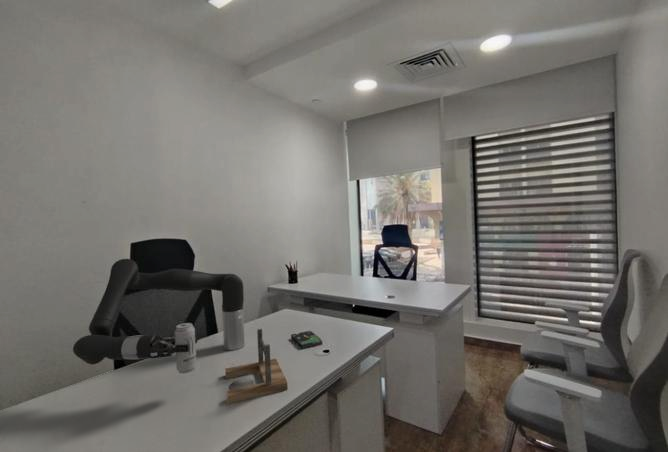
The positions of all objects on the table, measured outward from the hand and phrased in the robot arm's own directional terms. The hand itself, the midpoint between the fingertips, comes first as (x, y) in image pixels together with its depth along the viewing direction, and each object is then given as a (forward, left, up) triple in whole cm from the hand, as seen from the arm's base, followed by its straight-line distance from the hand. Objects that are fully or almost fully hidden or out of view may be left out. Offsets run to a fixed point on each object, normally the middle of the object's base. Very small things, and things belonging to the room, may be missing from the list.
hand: (192, 344), depth 103 cm
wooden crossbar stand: (+6, +18, -17) cm, 25 cm away
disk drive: (-14, +52, -18) cm, 57 cm away
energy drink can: (-1, -2, -9) cm, 9 cm away
